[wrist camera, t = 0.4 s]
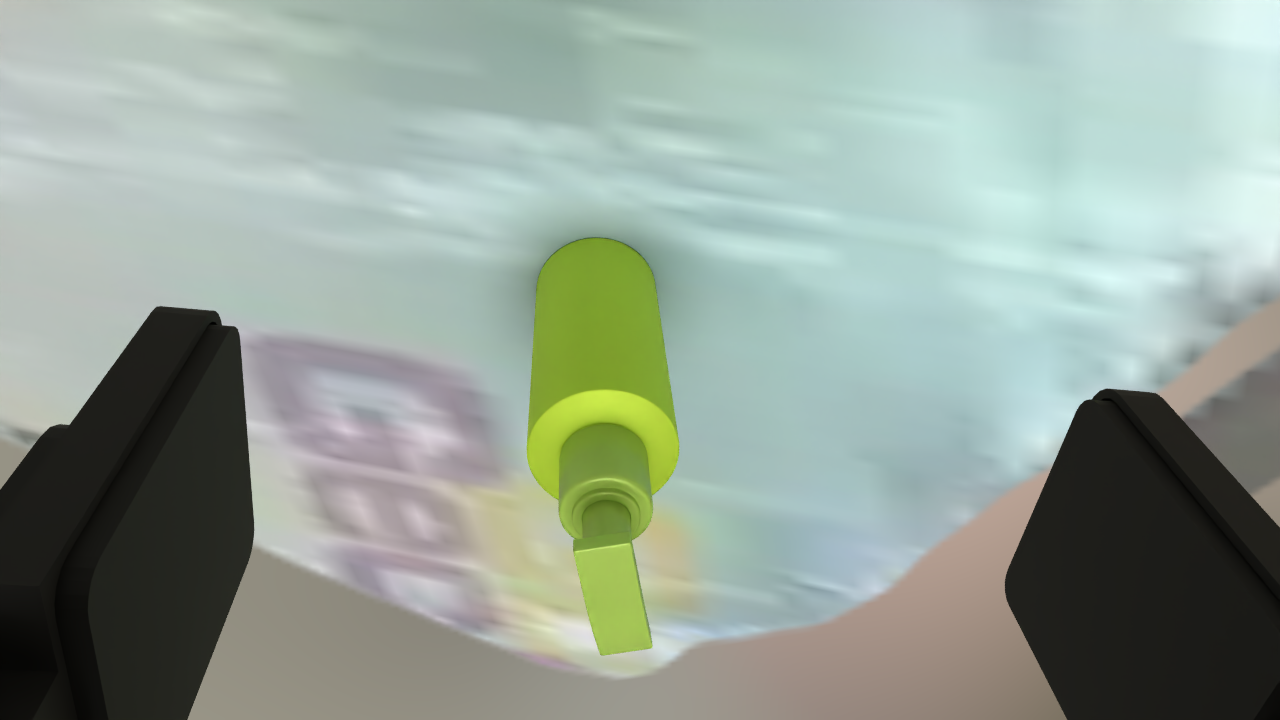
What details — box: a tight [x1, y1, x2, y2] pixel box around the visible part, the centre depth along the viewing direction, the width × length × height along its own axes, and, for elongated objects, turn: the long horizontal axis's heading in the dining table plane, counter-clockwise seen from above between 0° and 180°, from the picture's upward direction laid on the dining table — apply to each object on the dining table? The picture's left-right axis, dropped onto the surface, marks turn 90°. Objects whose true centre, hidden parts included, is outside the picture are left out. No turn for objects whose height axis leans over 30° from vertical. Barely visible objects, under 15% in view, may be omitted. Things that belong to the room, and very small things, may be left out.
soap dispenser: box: [527, 238, 679, 655], centre depth 42 cm, size 6×7×20 cm
